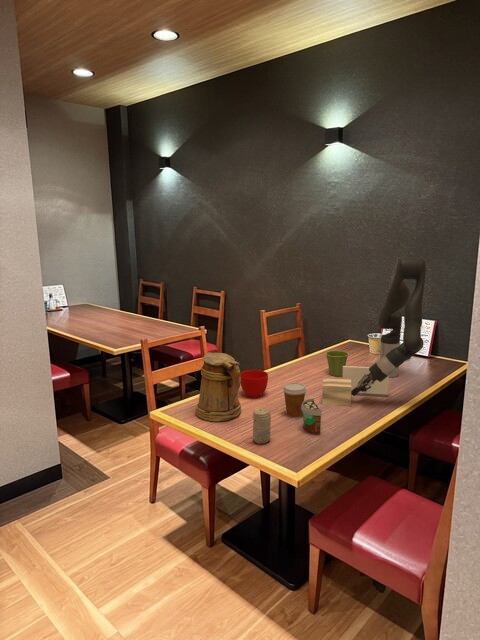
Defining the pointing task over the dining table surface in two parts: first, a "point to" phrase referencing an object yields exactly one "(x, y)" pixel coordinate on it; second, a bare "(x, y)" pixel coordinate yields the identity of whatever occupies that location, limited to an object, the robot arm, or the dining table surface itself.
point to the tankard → (219, 388)
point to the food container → (311, 416)
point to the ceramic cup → (254, 382)
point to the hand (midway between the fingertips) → (352, 394)
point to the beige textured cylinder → (261, 425)
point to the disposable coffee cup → (294, 398)
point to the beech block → (336, 392)
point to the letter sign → (357, 375)
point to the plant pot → (336, 362)
